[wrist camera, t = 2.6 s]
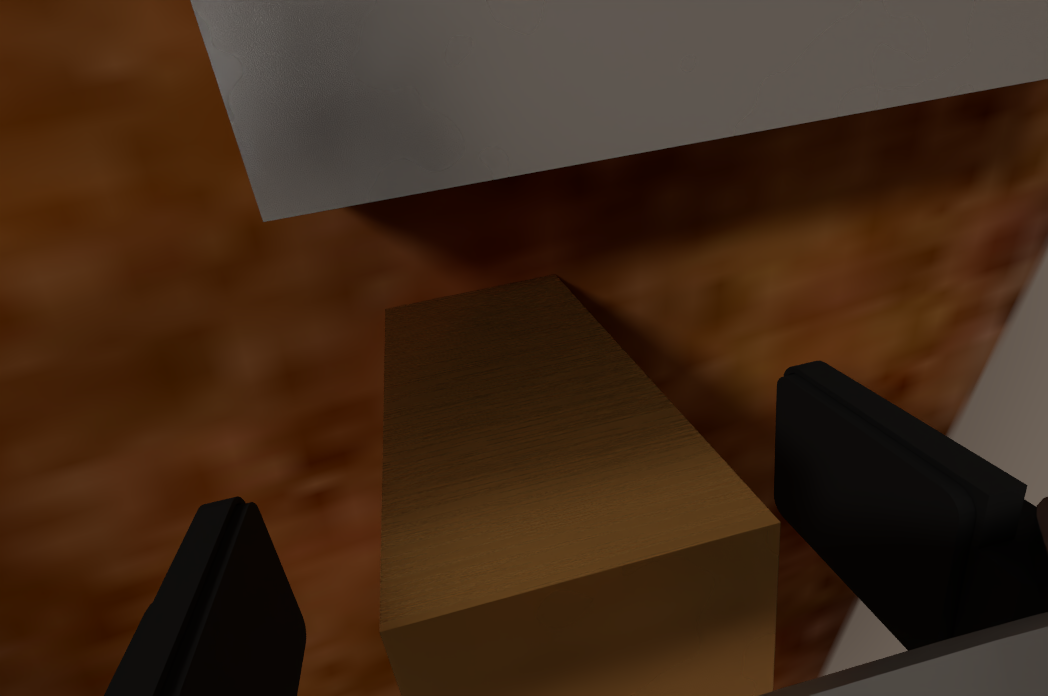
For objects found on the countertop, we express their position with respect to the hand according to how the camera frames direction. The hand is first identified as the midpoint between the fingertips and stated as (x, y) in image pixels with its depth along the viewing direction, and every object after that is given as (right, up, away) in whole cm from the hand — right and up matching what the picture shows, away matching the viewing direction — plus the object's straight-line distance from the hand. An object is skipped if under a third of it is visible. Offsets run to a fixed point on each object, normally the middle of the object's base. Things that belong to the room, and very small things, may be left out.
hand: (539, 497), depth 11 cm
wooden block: (-1, +2, +4) cm, 5 cm away
